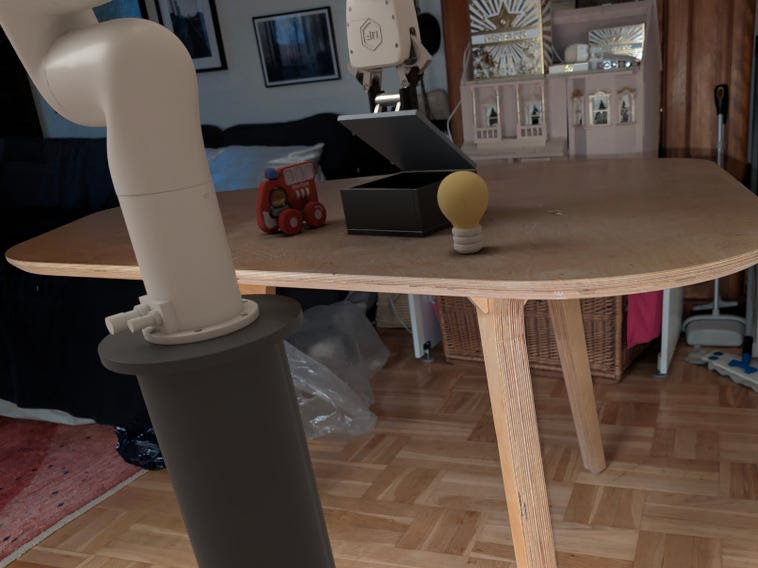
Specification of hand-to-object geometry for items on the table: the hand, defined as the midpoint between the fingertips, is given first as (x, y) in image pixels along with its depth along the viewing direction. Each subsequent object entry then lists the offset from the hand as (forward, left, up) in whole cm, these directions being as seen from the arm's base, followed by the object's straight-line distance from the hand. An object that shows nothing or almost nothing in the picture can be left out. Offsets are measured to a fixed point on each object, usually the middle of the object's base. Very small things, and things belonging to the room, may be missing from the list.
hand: (395, 117), depth 103 cm
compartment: (+1, 0, -16) cm, 16 cm away
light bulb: (-9, -21, -16) cm, 28 cm away
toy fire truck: (-9, +19, -16) cm, 27 cm away
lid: (+2, 0, -4) cm, 5 cm away
